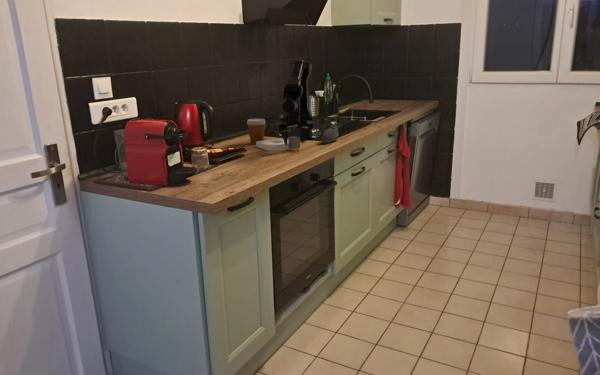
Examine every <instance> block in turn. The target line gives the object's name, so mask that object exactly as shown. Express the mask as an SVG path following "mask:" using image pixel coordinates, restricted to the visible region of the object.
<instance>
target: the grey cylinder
mask: <svg viewBox="0 0 600 375" xmlns="http://www.w3.org/2000/svg"><path fill="white" fill-rule="evenodd" d="M288 142H289V150H290V151H300V148H301V139H300V137H298V135H297V136H296V135H294V136H288Z"/></svg>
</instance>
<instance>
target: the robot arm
mask: <svg viewBox="0 0 600 375" xmlns="http://www.w3.org/2000/svg"><path fill="white" fill-rule="evenodd" d="M292 65H293V67H292V72H291V76H290V78H289V79H288V80H287V81H286V83H285V85H284V87H283V94H282V95H283V97H282V99H283V100H286V101H284V102H283V103H282V110H283V112H285V116H284V114H282V115H280V114H279V115H278V118H277V121H278V123H274V125H273V130H274V131H276V132H278V133H279V134H280V135H281V137H282V138H283V141H284V143H285V145H287V139H288V137H289V136H288V135H289V132H288V129H293V128H297V129H298V130H297V133H298V134H297V137H300V141H301V143H305V141H309V140H314V137H313V128H315V126H316V125H315V119H314V116H313V114H312V111H311V110H310V108H309V85H308V84H309V83H308V80H309V78H310V76H311V72H312V69H313V66H312V63H311V62H310V61H307V60H303V59H302V60H301V59H300V60H299V59H298V60H294V61H293V64H292Z"/></svg>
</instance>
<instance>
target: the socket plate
mask: <svg viewBox="0 0 600 375" xmlns="http://www.w3.org/2000/svg"><path fill="white" fill-rule="evenodd" d="M255 146H256V147H257V148H260V149H263V150H265V151H268V152H274V151H280V150H287V149H289V150H290V148H289V142H288V139H287V145H285V143H284V141H283V138H275V139H267V140H266V139H265V140H263V141H256V145H255Z"/></svg>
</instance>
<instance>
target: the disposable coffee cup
mask: <svg viewBox="0 0 600 375" xmlns="http://www.w3.org/2000/svg"><path fill="white" fill-rule="evenodd" d="M246 125H247V129H248V135H249V140H250V144H251V145H255V146H256V141H264V139H265V137H264V136H265V128H266V127H265V126H266V119H264V118H249V119H247V121H246Z"/></svg>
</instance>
